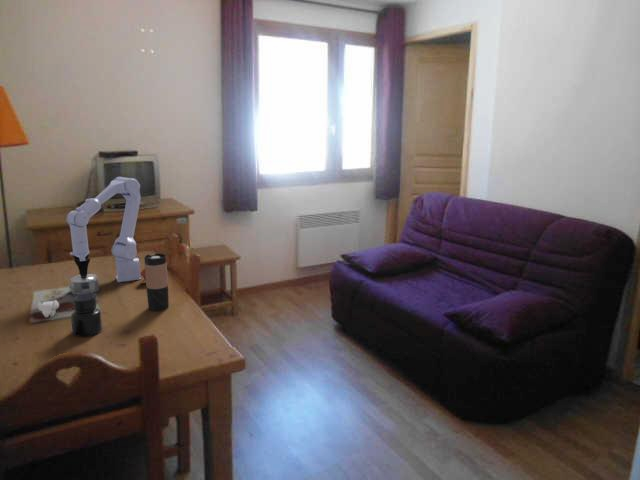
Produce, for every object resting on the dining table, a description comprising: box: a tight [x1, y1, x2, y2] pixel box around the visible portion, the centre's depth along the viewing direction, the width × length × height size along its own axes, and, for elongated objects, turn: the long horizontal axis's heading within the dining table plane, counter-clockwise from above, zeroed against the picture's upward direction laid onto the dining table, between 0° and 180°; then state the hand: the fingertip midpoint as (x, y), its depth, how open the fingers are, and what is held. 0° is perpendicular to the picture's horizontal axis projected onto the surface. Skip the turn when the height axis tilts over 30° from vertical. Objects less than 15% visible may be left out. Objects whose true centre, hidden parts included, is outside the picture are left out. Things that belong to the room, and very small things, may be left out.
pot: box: [69, 272, 100, 296], centre depth 204 cm, size 10×20×5 cm, turn 28°
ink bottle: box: [70, 293, 103, 337], centre depth 165 cm, size 10×9×12 cm
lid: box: [70, 273, 98, 283], centre depth 201 cm, size 10×10×5 cm
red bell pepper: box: [139, 267, 146, 284], centre depth 213 cm, size 7×7×10 cm
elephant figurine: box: [37, 299, 60, 318], centre depth 178 cm, size 7×8×6 cm
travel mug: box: [143, 253, 170, 312], centre depth 185 cm, size 8×8×20 cm
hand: (83, 273), depth 201 cm, fingers open, 5 cm apart
